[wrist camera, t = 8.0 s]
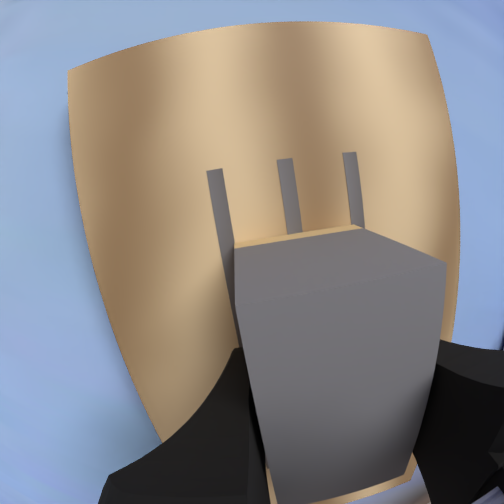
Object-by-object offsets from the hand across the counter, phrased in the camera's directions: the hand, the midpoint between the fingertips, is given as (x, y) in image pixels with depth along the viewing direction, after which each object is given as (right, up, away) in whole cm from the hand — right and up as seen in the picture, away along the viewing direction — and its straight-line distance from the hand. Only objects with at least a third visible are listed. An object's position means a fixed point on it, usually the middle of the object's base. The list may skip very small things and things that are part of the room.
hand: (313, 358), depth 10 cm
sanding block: (0, +1, +1) cm, 1 cm away
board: (0, -1, +3) cm, 3 cm away
